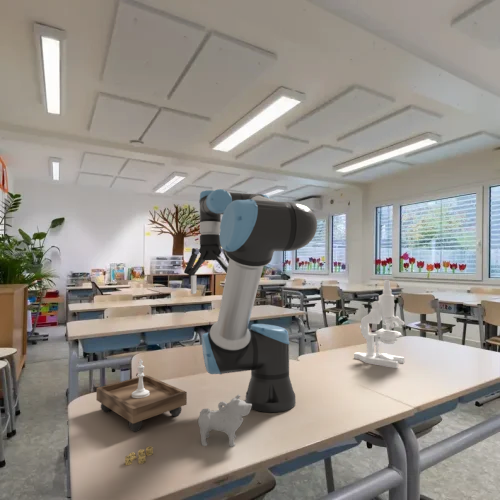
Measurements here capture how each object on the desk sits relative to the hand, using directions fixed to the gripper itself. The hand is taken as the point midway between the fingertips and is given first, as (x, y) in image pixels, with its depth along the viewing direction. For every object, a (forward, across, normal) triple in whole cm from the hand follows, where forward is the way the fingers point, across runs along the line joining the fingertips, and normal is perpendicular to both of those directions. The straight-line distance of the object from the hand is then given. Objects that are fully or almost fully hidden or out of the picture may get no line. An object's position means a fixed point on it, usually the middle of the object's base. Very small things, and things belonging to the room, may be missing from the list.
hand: (210, 294), depth 124 cm
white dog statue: (+32, -21, +34) cm, 51 cm away
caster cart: (+32, +8, +28) cm, 43 cm away
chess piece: (+27, +8, +28) cm, 40 cm away
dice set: (+33, -6, +48) cm, 58 cm away
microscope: (+32, -56, -49) cm, 80 cm away
